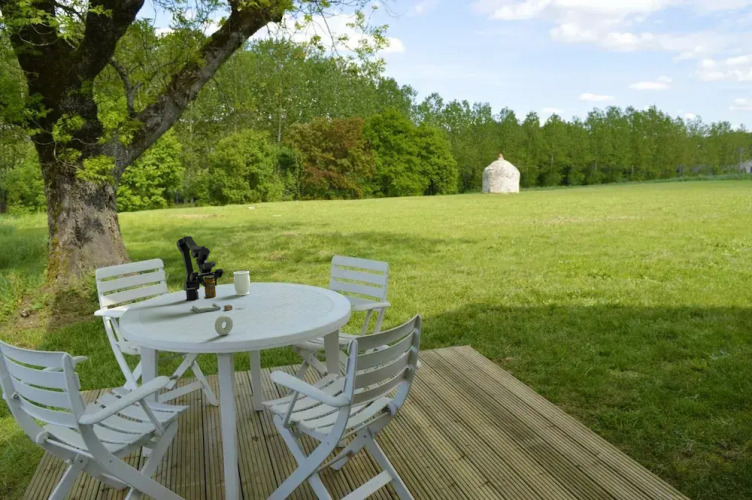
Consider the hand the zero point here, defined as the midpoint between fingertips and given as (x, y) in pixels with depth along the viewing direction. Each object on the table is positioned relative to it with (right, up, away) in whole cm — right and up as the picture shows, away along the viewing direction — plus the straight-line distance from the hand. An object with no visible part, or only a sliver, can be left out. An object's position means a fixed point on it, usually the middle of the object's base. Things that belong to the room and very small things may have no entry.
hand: (211, 286), depth 324 cm
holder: (-3, -13, +1) cm, 14 cm away
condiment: (-1, -7, +2) cm, 7 cm away
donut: (+23, -20, -55) cm, 62 cm away
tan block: (+11, -13, -2) cm, 17 cm away
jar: (+9, -8, +39) cm, 41 cm away
